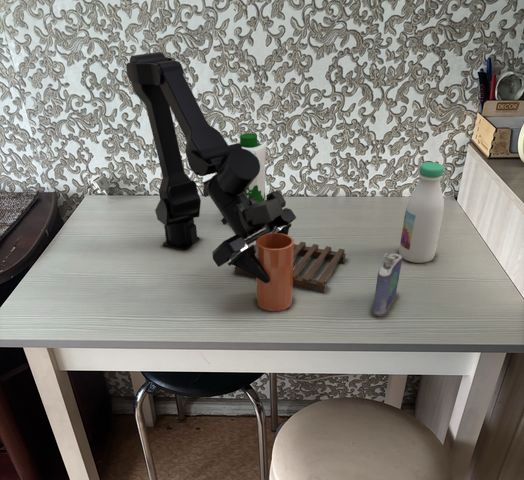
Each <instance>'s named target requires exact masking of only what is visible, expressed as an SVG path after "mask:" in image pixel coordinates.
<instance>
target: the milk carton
mask: <svg viewBox="0 0 524 480" xmlns="http://www.w3.org/2000/svg"><path fill="white" fill-rule="evenodd" d="M236 143H240V145H241V147H242V149H246V150H248V151H250V152H252V153H253V154H254V155H255V156H256V157H257V158H258V160H259V163H260V172H259V174H258V175H257V176H256V178H255V179H254V180H253V181H252V183H251V184H250V185H249V186H248V188H247V189H246V190H245V191H244V192H245V194H246V195H247V197H248V198H251V197H254V198H255V199H256V200H257V201H258V203H260V202H263V201H265V200H266V173H265V172H266V156H267V145H266V144H262V143H258V135H257V134H256V133H251V132H250V133H249V132H248V133H247V132H246V133H242V134H239V141H236V142H234V143H233V144H236Z"/></svg>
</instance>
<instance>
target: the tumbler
mask: <svg viewBox="0 0 524 480" xmlns="http://www.w3.org/2000/svg"><path fill="white" fill-rule="evenodd" d="M255 244H256V253H255V256H256V258H257V259H258V261H259V262H260V264H261V265H262V267H263V269H264V270H265V272H266V273H267V275H268V277H269V279H270V282H268V283H264V282H263V281H261V280H259V279H258V278H255V279H256V304H257V305H258V307H259V308H261V309H263V310H265V311H270V312H280V311H284V310H287V309H289V308H290V307H291V306H292V304H293V291H294V289H293V287H294V286H293V270H294V266H293V259H294V244H295V239H294V238H293V237H292V236H291V235H289V234H288V235H286V234H282V233H268V234H264V235H261V236H259V237H258V238H257V239H256V241H255Z"/></svg>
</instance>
